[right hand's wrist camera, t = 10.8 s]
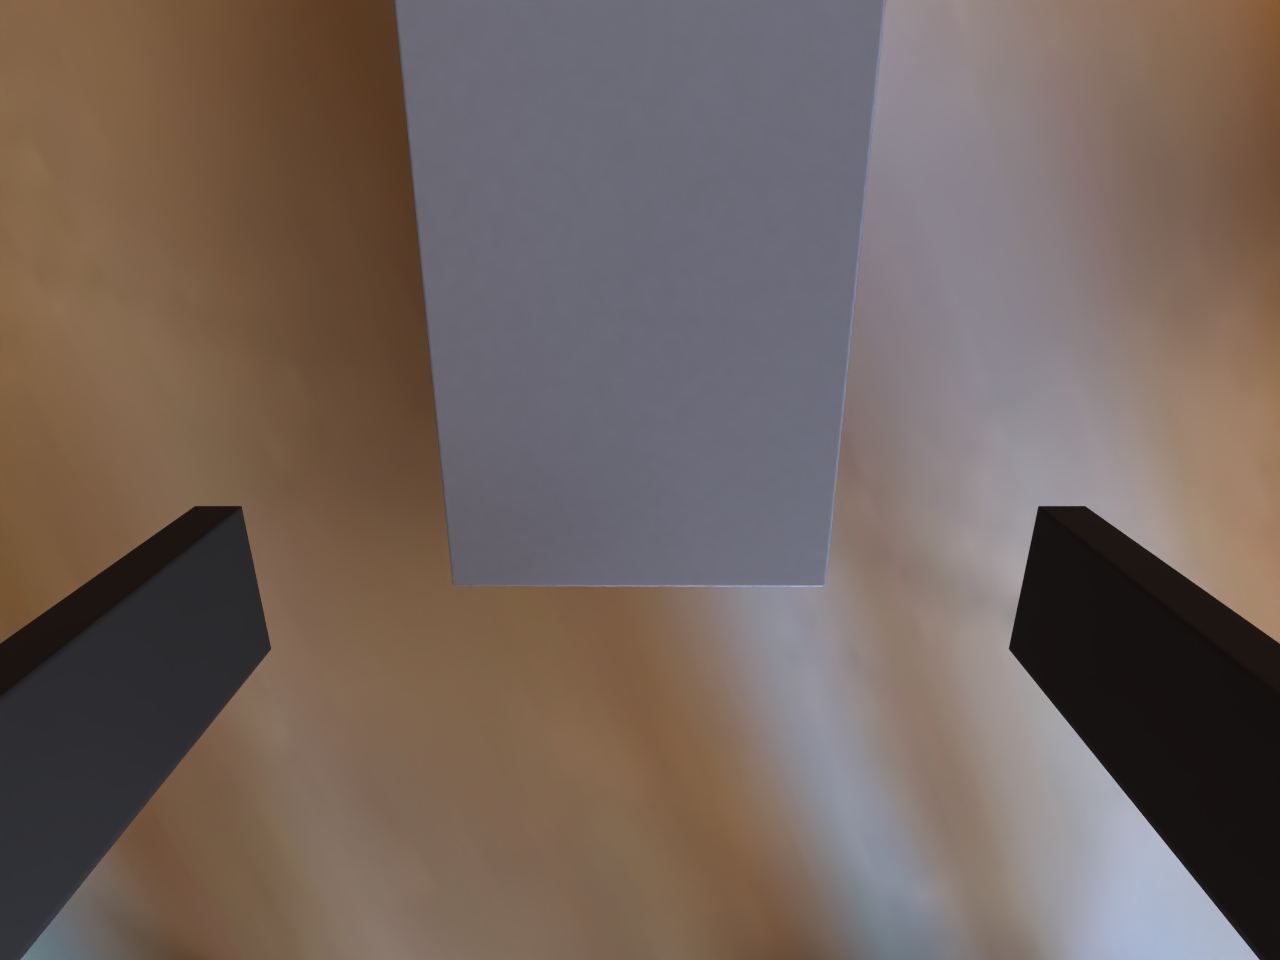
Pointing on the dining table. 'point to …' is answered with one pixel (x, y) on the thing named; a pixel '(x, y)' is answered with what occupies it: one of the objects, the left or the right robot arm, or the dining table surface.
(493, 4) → the grey rectangular box
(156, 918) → the dining table surface
